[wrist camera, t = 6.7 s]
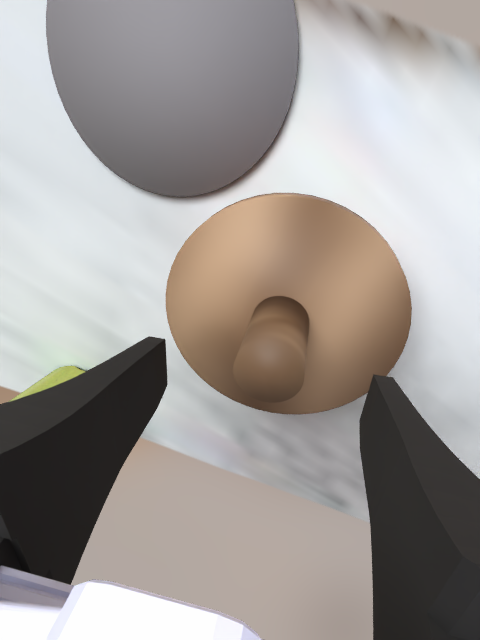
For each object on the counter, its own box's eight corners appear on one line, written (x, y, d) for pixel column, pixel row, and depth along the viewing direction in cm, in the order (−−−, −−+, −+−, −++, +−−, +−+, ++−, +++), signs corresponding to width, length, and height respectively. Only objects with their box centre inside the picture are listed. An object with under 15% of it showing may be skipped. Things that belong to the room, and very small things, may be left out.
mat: (320, -126, 14) (319, -133, 13) (281, 206, 20) (280, 208, 19) (28, -120, 15) (20, -127, 15) (73, 182, 21) (68, 184, 21)
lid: (440, 203, 14) (486, 240, 10) (378, 419, 19) (391, 501, 15) (164, 184, 16) (106, 209, 12) (177, 386, 21) (141, 452, 17)
